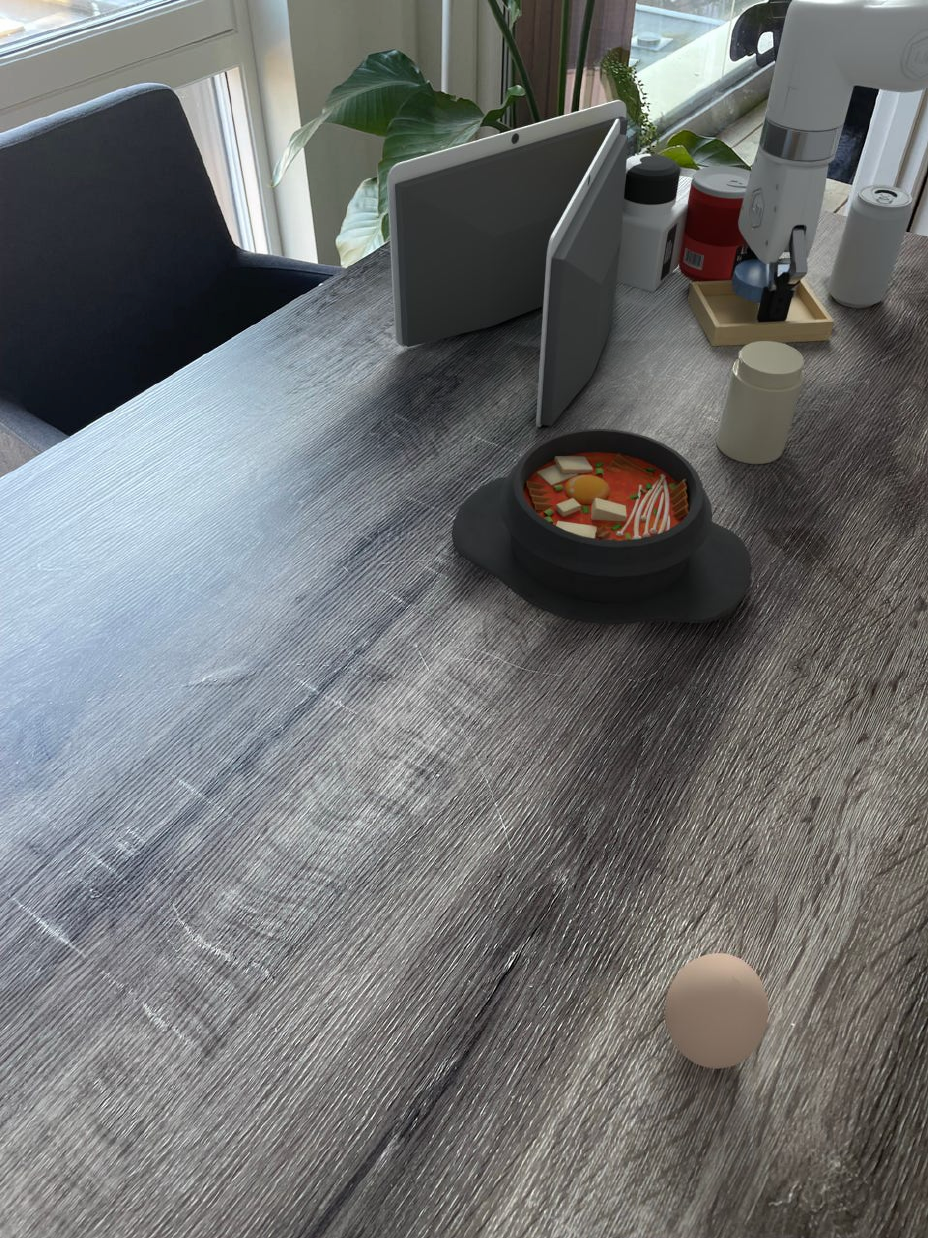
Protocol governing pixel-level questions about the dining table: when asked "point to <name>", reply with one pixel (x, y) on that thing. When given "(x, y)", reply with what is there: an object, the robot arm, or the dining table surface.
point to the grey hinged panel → (515, 240)
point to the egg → (716, 1010)
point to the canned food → (713, 224)
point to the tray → (737, 317)
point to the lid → (753, 279)
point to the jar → (760, 402)
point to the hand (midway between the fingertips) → (760, 302)
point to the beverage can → (870, 245)
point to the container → (650, 222)
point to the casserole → (605, 533)
